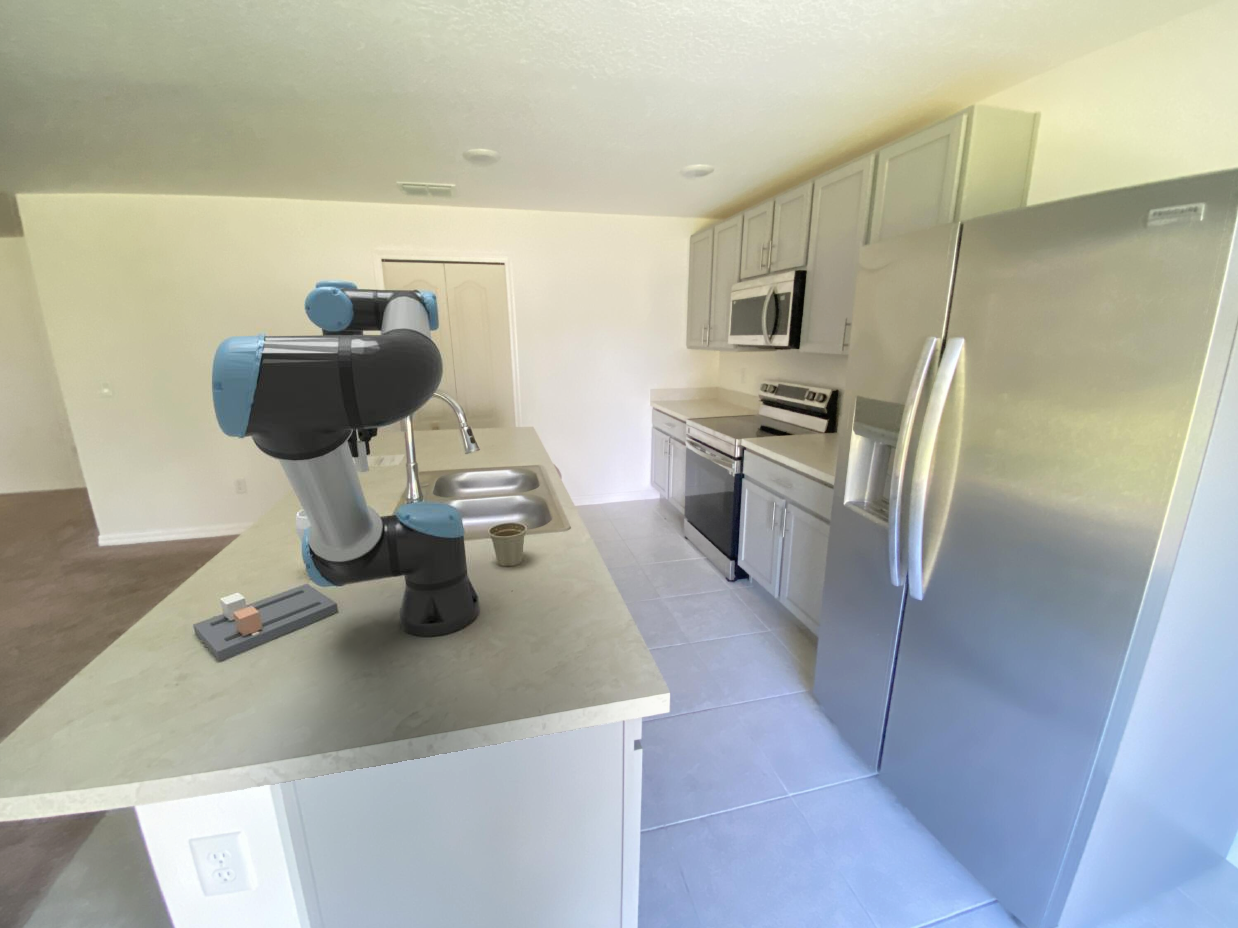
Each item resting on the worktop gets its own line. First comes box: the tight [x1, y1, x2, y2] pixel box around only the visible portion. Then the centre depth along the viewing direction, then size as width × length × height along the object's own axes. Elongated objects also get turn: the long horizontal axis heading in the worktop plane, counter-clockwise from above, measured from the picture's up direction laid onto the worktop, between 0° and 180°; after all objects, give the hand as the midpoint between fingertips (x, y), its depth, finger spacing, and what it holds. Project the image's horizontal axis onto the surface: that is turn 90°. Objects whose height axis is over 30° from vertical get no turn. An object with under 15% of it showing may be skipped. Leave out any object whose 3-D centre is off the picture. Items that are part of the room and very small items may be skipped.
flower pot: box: [487, 522, 528, 567], centre depth 124 cm, size 9×9×9 cm
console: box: [192, 583, 339, 663], centre depth 99 cm, size 14×20×2 cm
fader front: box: [233, 606, 263, 636], centre depth 92 cm, size 4×3×4 cm
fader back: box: [219, 592, 247, 621], centre depth 97 cm, size 4×3×4 cm
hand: (362, 470), depth 109 cm, fingers closed
